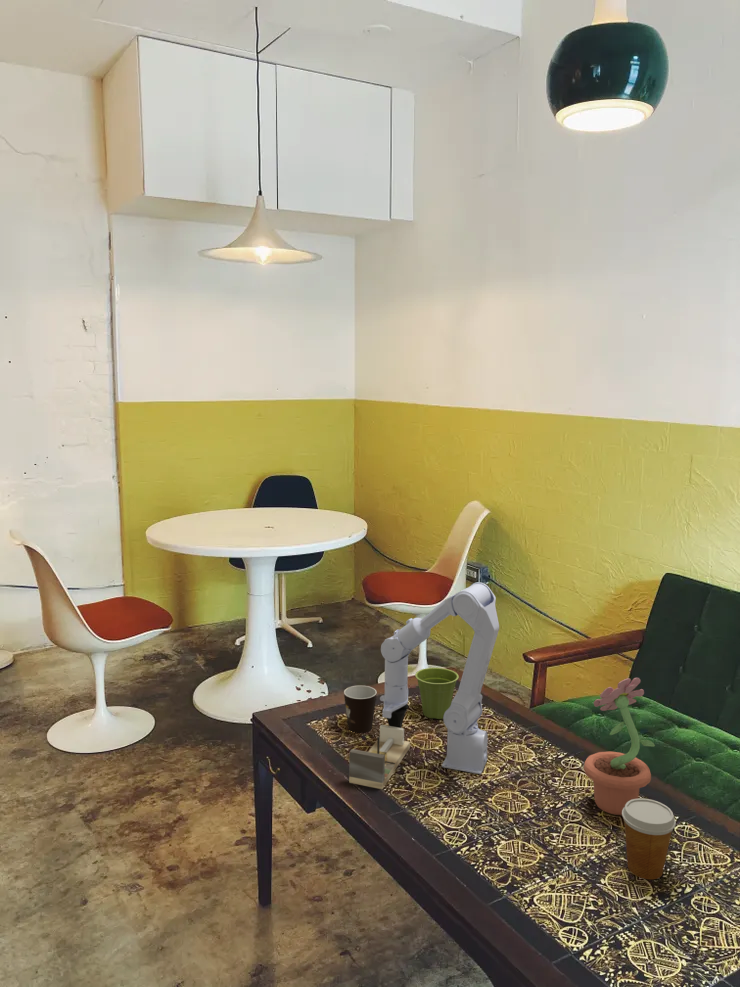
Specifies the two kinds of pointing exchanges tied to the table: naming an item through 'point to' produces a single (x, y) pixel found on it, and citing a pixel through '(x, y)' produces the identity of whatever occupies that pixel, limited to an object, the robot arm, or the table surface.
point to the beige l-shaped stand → (375, 765)
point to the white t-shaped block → (391, 736)
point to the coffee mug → (360, 708)
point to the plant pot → (436, 690)
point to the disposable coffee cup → (647, 836)
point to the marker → (380, 751)
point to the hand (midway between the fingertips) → (395, 733)
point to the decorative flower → (618, 755)
